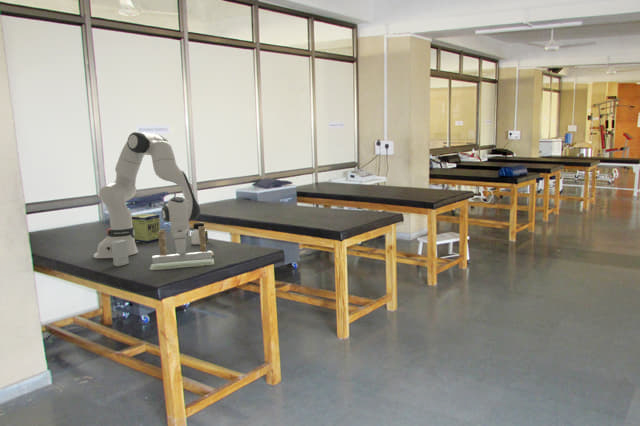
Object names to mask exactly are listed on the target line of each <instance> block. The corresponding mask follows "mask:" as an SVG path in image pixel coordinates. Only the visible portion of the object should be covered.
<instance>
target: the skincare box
mask: <svg viewBox="0 0 640 426" xmlns="http://www.w3.org/2000/svg"><path fill="white" fill-rule="evenodd" d="M111 244H112V253H113V258H112V262H113V266H115V267H120V266H121V267H122V266H125V265H129V264H130V263H129V256H128V251H127V241H126V240H119V241H115V242H111Z"/></svg>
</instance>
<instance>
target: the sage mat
mask: <svg viewBox="0 0 640 426" xmlns="http://www.w3.org/2000/svg"><path fill="white" fill-rule="evenodd" d="M205 265H206V266H214V265H215V259H214V258H208V259H197V260H186V261H175V262H164V263H151V264H150V267H149V271H159V270H169V269H171V270H173V269H179V268H180V269H181V268H193V267H204V266H205Z"/></svg>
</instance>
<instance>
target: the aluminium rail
mask: <svg viewBox="0 0 640 426" xmlns="http://www.w3.org/2000/svg"><path fill="white" fill-rule="evenodd" d="M151 258H152V264H157V263H169V262H180V261H192V260H204V259H213V257H212V250H206V251H204V252H200V251H196V252H195V251H194V252H185V254H184V260H180V254H177V253H173V254H167V255H160V254H159V255H152V257H151Z"/></svg>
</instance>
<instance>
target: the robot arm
mask: <svg viewBox="0 0 640 426" xmlns="http://www.w3.org/2000/svg"><path fill="white" fill-rule="evenodd" d="M145 156H150V157H151V159H152V166H153V170H154V174H155V175H156V177H158V178H159V179H161V180H163V181H166V182H171V183H174V184H176V185H178V186H179V188H180V189H181V191H182V194H183V197H181V196H180V197H178V196H175V197H171V198H169V201H168V203H166V204H164V205H163V206H162V208H161V218H162V220H163V221H164V222H166V223H170V234H171V236H172V239H174V243H175V244H174V246H175V251H176V254H180V260H184V254H185V253H186V247H187V238H188V237H189V235H191V231H190V229H191V228H190V223H189V222H191V221H192V222H194V221H196V220H197V219H198V218H199V217H200V216H201V209H200V206H199V204H198V201H197V200H196V198H195V194H194V192H193V189H192V187H191V185H190V181H189V179H188V177H187V175H186V173H185V171H183V170H181V169H180V168H179V166H178V165H177V161H176V157H175V154H174V150H173V147H172V146H171V144H170V142H169V141H168V140H167V138H165V137H164V136H162V135H158V134H155V133H152V132H151V133H149V132H141V131H135V132H131V133H130V134H129V135H128V138H127V141H126V142H125V144H124V146H123V148H122V149H121V151H120V155H119V157H118V160H117V162H116V165H115V172H116V173H115V174H116V176H115V181H114V182H111V183H108V184H106V185H104V186H103V187H101V189H99V194H98V195H99V196H98V197H99V199H100V201H101V203H103V204H104V205H105V207H106V210H107V213H108V216H109V225H110V228H108V229H107V230H106V231H107V232H106V234H107V236H106V237H105V238H104V239H102V241H101V242H99V243H98V245H97V252H95V253H94V254H93V259H113V253H112V244H111V242H115V241H119V240H126V241H127V251H128V257H130V256H132V255H136V254H138V253H139V250H138V247H137V244H136V242H135V239H134V237H135V233H134V227H133V224H132V216H133V214H132V212H131V211H130V210H129V208H128V206H127V203H126V202H128V201H130V200H131V199H133V198H134V197H135V196H136V194H137V187H136V180H137V175H138V173H139V170H140V167H141V165H142V162H143V158H144V157H145Z"/></svg>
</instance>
